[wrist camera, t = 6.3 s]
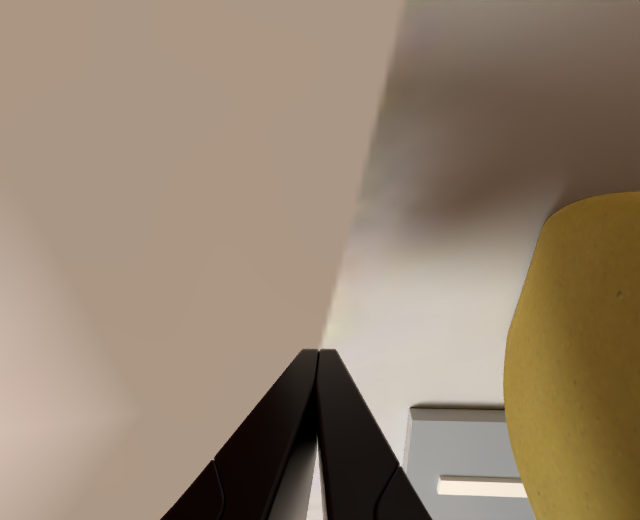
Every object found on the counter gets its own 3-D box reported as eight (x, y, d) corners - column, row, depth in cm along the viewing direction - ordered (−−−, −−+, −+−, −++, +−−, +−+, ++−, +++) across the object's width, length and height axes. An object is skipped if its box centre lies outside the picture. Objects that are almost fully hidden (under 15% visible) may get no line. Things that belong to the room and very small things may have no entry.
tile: (554, 524, 16) (564, 543, 16) (397, 517, 17) (400, 535, 16) (604, 412, 13) (620, 429, 12) (409, 408, 14) (413, 424, 13)
